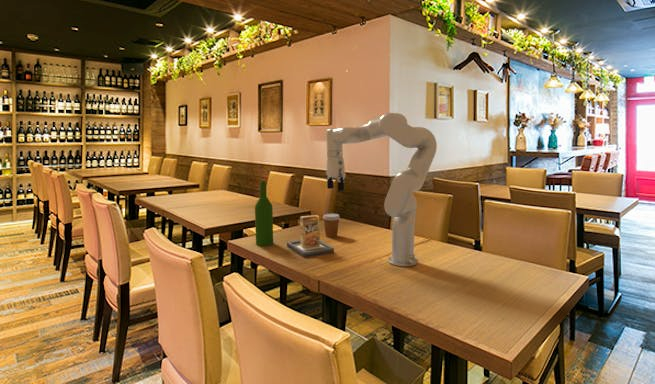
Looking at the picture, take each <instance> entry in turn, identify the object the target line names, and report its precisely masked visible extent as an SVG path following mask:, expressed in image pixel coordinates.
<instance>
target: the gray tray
mask: <svg viewBox="0 0 655 384" xmlns="http://www.w3.org/2000/svg"><path fill="white" fill-rule="evenodd" d="M286 248H288V249H290V250H291V251H293V252H294V253H295V254H297V255H298V256H300V257H302V258H304V259H305V258H311V257H315V256H316V257H317V255H318V256H323V255H329V254H334V253H335V247H333V246H331V245H329V244H328V243H325V242H324V241H321V240H320V246H319V247H308V248H302V247H301V239H300V240H293V241H287V242H286Z"/></svg>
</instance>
